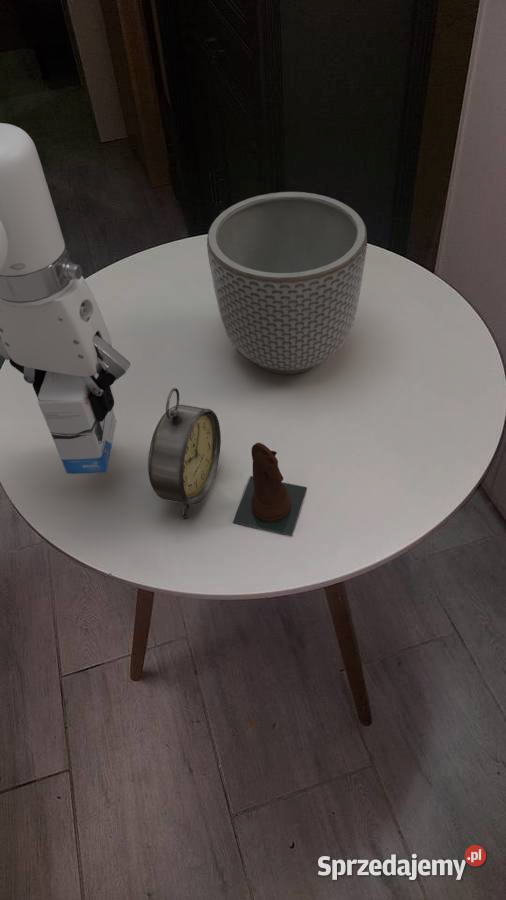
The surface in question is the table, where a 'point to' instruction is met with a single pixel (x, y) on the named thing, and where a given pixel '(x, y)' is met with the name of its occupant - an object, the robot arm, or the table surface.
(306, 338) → the planter
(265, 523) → the slate coaster
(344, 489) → the table surface
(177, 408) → the alarm clock
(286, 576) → the table surface
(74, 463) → the ink box
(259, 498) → the chess piece
